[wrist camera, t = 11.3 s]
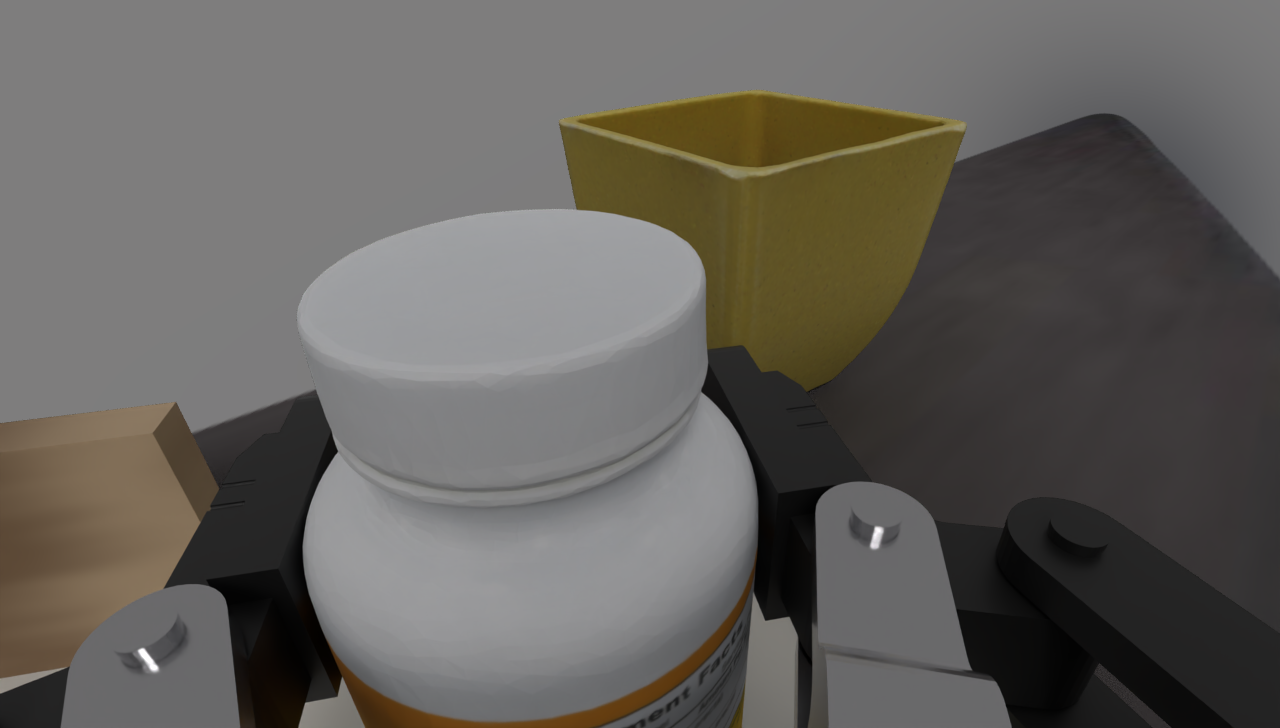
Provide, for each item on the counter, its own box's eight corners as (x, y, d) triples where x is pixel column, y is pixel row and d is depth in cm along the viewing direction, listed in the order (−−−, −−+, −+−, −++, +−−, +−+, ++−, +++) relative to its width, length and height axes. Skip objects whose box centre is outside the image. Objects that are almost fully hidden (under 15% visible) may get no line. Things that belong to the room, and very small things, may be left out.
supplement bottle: (412, 699, 13) (240, 227, 8) (660, 610, 14) (651, 171, 9) (447, 1062, 8) (113, 524, 3) (796, 876, 10) (912, 327, 5)
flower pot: (744, 299, 29) (757, 84, 24) (915, 384, 23) (976, 117, 18) (576, 364, 25) (551, 117, 20) (730, 487, 19) (747, 174, 14)
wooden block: (-139, 711, 14) (-384, 500, 10) (-99, 666, 14) (-315, 458, 11) (265, 642, 15) (152, 433, 12) (278, 604, 16) (177, 400, 12)
